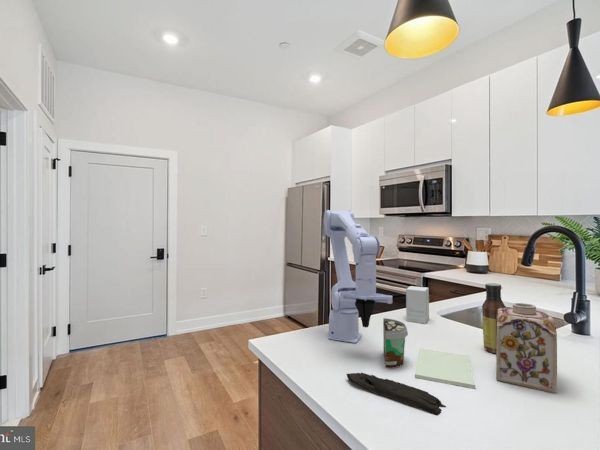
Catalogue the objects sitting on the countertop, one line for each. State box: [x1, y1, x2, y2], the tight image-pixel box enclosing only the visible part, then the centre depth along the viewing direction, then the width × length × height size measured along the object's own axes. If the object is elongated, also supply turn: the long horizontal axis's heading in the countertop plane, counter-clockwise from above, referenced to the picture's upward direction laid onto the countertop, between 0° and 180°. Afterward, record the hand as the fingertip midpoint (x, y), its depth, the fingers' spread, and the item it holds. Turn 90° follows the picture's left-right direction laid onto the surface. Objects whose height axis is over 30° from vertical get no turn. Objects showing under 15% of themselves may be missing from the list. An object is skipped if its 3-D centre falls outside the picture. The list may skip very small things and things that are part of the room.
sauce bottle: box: [482, 282, 507, 355], centre depth 95 cm, size 6×6×20 cm
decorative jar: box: [495, 302, 558, 394], centre depth 79 cm, size 12×12×18 cm
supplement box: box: [405, 285, 430, 324], centre depth 125 cm, size 7×7×13 cm
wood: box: [345, 372, 447, 416], centre depth 72 cm, size 22×7×3 cm, turn 53°
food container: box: [382, 317, 408, 369], centre depth 88 cm, size 12×6×10 cm, turn 168°
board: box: [414, 347, 476, 389], centre depth 84 cm, size 13×18×1 cm
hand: (365, 326), depth 91 cm, fingers closed
